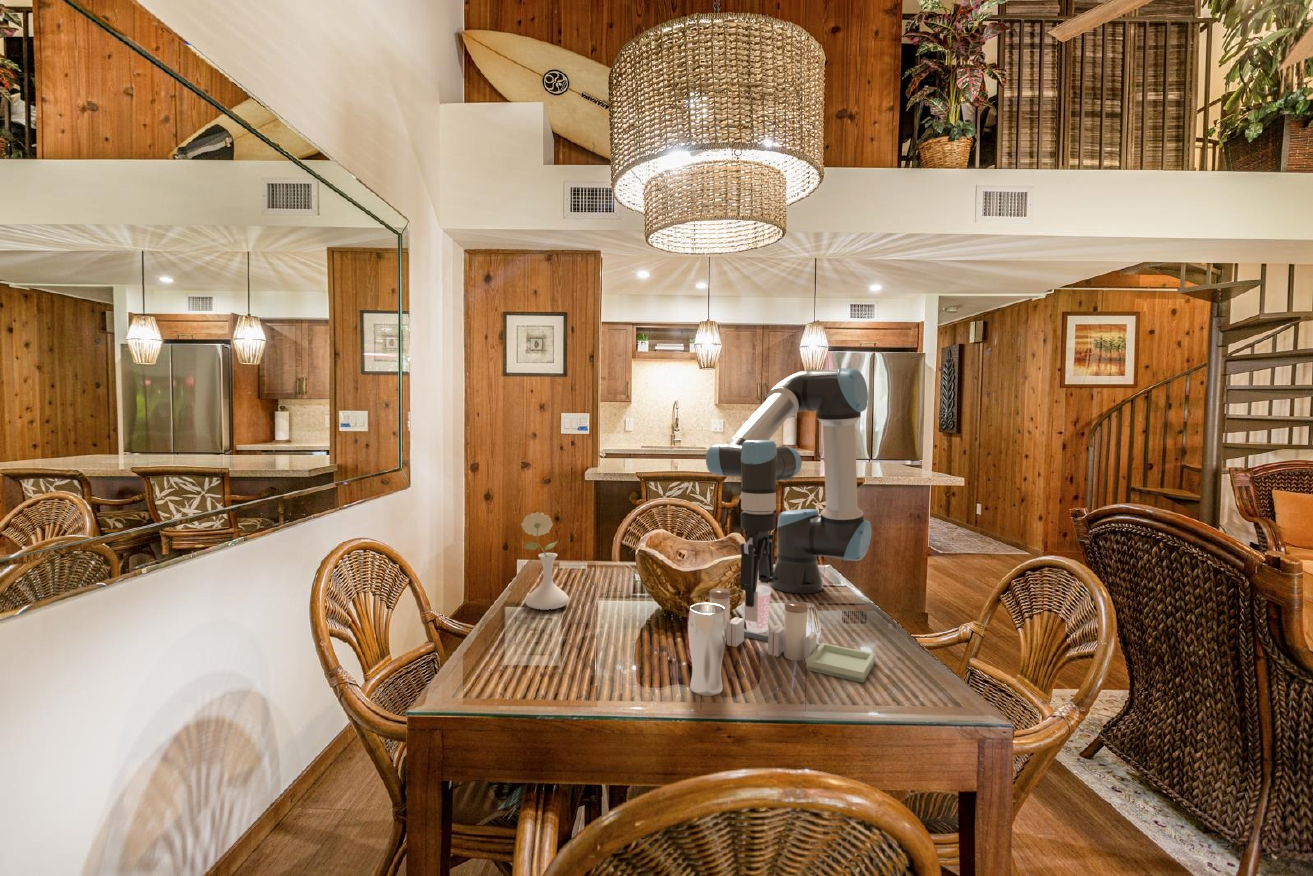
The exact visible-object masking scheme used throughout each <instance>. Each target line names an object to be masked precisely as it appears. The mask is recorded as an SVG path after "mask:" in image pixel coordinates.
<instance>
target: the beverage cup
mask: <svg viewBox="0 0 1313 876" xmlns="http://www.w3.org/2000/svg"><path fill="white" fill-rule="evenodd" d="M759 582H760V581H759V570H758V578H757V586H756V591H758V621H757V622H754V621H748V620H745V623H746V624H745V625H746V628H745V629H747V630H748V631H751V632H755V633H767V632H768V631H769V614H770V602H771V594H772V591H773V590H772V587H771V586H769V587H768V586H764V585H759ZM743 593H744V594H745V590H743Z"/></svg>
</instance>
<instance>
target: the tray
mask: <svg viewBox="0 0 1313 876" xmlns="http://www.w3.org/2000/svg"><path fill="white" fill-rule="evenodd" d="M819 645H820V646H819V647H818V648H817V649H816V650H815V651H814V652H813V653H812V654H811V655H810V657H809V658H808V659H807V660H806V663H805V664H806V667H805V669H806V671H809V670H810V672H815V673H820V674H822V673H823V675H827V676H832V677H837V678H840V679H844V680H847V681H848V680H849V681H853V682H858V683H861V684H864V683H865V680H866V679H867V677H868V676H869V674H870V672H871V671H872V669H873V667H874V666H875V664H876V653H874V652H870V651H869V652H868V651H864V650H858V649H854V648H850V647H844V646H840V645H839V646H838V645H835V644H831V643H830V644H829V643H825V642H821V644H819Z"/></svg>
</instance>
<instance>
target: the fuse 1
mask: <svg viewBox="0 0 1313 876" xmlns="http://www.w3.org/2000/svg"><path fill="white" fill-rule="evenodd" d="M709 603H712V604H718V605H721V606H723V607H724V608H725V614H726V642H725V644H727V622H729V621H730V620H731V619H730V617H731V616H730V615H731V613H730V611H731V607H730V605H731V604H730V603H731V591H730V590H729V589H726V588H718V587H717V588H712V589H709Z"/></svg>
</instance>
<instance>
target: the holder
mask: <svg viewBox="0 0 1313 876" xmlns="http://www.w3.org/2000/svg"><path fill="white" fill-rule="evenodd" d="M767 632H768V633H767ZM767 632H762V633H755V632H751V631H748V630H747V628H745V618H740V617H733V618H732V619H730V621H729V622H727V642H726V645H727V646H730V647H734V648H737V647H738V646H739V645H741V644H742V643H743V642H744V641H745V638H750V639H753V640H759V641H764V642H767V644H768V645H767V655H769V656H774V657H779V656H780V655H781V654H783V653H784V626H781V625H776V624H775V626H773V627H771V628H770V629H768V630H767ZM817 636H818V635H817V632H813V631H812V632H811V633H810V634H809V635H808V636H806V639H805V659H804V663H805V664H806V660H807V659H808V658H809V657H810V655H811V654H812V653H813V652H814V651H815V650H816V649H817V648H818V647H819V646H820V645H821V644H818V643H817V638H818V637H817Z"/></svg>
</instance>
